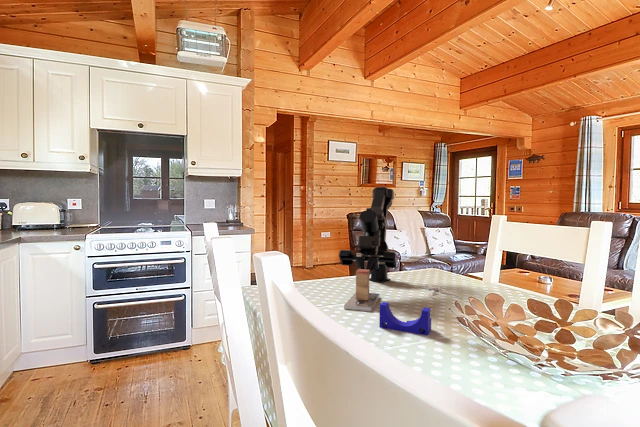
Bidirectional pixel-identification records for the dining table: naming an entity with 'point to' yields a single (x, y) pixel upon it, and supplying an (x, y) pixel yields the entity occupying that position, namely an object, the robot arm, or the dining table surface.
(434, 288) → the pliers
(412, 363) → the dining table surface
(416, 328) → the blue cradle bracket
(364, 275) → the marker post
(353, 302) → the flange plate
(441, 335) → the dining table surface
